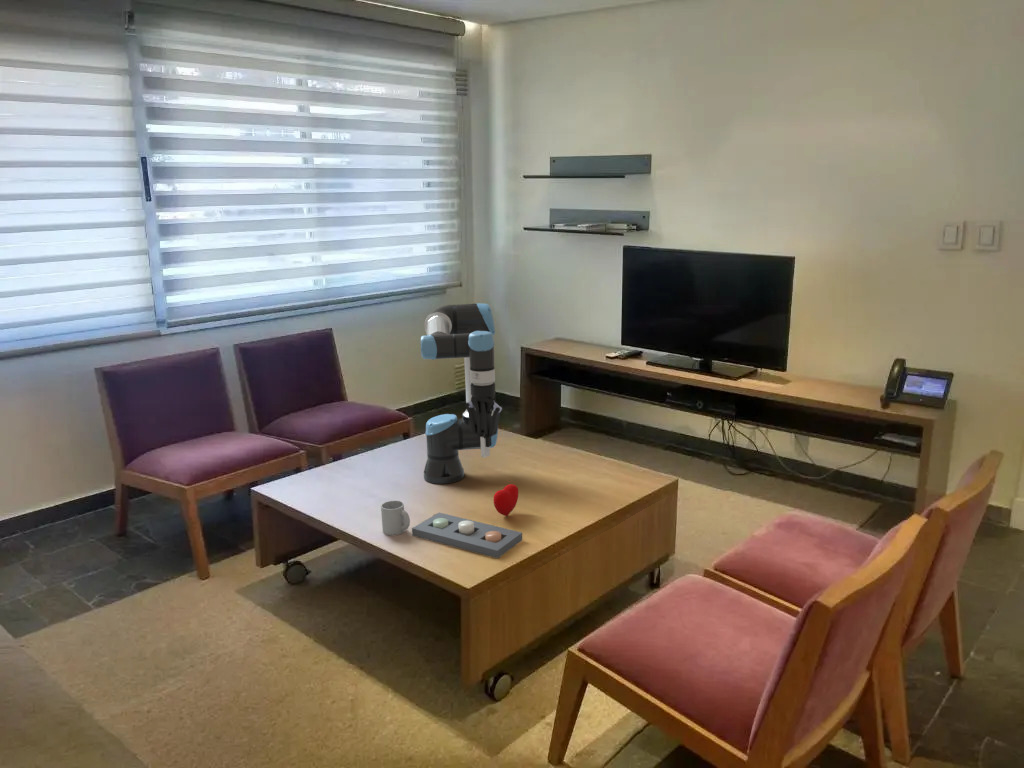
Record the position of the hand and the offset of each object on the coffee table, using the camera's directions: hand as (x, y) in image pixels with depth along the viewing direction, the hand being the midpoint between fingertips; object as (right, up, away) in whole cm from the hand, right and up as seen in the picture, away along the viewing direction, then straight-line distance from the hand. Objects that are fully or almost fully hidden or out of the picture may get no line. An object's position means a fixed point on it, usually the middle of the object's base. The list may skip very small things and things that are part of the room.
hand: (485, 455), depth 247 cm
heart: (+7, -21, +15) cm, 27 cm away
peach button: (+3, -26, -6) cm, 27 cm away
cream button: (-6, -24, -1) cm, 24 cm away
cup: (-28, -25, +6) cm, 38 cm away
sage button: (-14, -24, +5) cm, 28 cm away
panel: (-6, -25, 0) cm, 26 cm away
